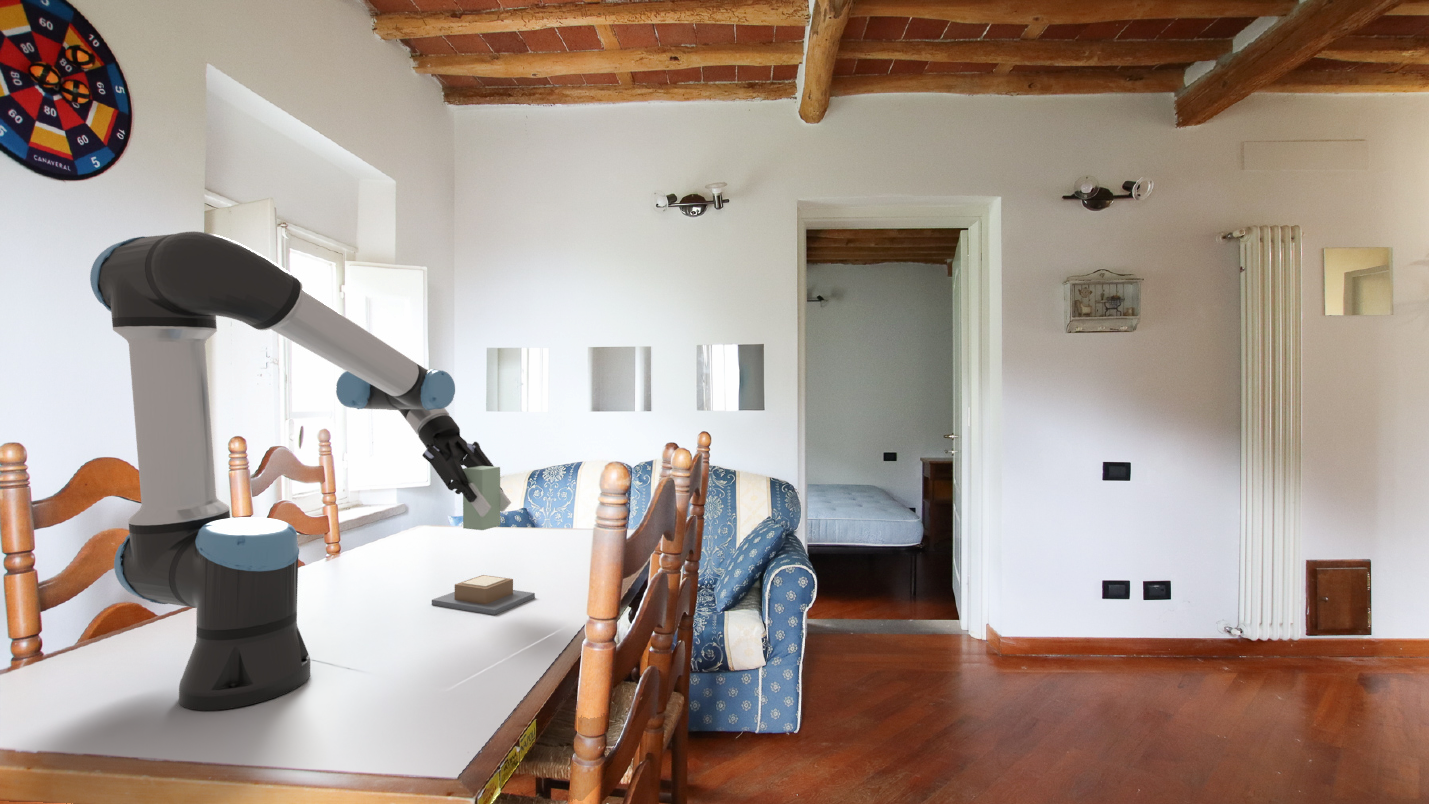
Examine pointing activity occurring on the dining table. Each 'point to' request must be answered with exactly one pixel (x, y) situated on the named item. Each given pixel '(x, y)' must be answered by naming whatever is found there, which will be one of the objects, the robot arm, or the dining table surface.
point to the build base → (487, 607)
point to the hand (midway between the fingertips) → (496, 509)
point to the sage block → (490, 490)
